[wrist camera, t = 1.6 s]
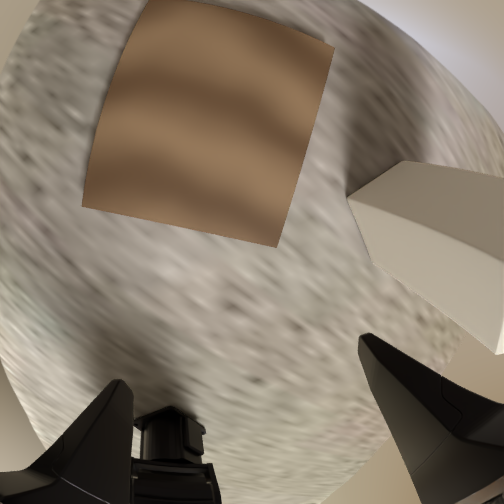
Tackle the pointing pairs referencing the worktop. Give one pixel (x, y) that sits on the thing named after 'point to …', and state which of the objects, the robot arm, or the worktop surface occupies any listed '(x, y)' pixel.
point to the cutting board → (207, 121)
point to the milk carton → (440, 240)
